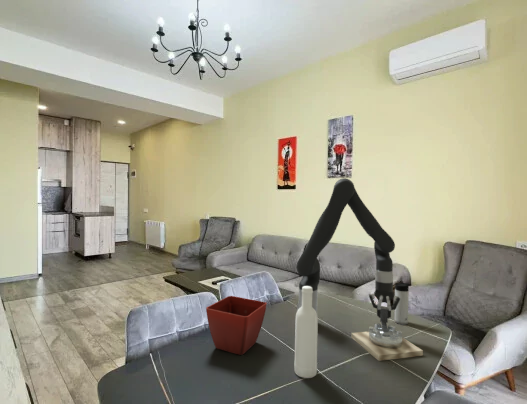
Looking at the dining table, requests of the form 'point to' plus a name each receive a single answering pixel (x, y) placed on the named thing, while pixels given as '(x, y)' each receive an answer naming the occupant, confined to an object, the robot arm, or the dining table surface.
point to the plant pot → (235, 323)
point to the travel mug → (402, 303)
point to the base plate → (383, 352)
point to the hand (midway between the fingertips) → (383, 317)
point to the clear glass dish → (385, 332)
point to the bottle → (306, 336)
